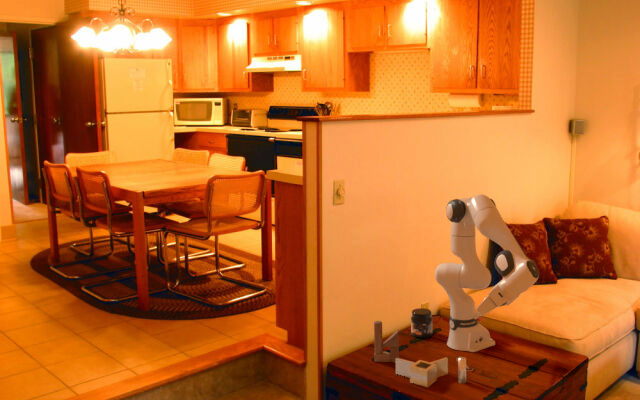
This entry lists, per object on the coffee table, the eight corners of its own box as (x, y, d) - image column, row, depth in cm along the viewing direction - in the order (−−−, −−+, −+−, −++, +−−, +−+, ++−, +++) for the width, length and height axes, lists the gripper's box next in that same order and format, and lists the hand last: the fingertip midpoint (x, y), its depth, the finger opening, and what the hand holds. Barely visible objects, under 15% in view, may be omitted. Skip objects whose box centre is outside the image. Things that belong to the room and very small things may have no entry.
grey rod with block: (398, 362, 275) (397, 323, 273) (374, 362, 277) (373, 323, 274) (398, 359, 279) (398, 320, 276) (374, 358, 281) (373, 320, 278)
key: (451, 359, 279) (461, 373, 264) (451, 357, 279) (461, 371, 264) (464, 357, 279) (475, 371, 264) (464, 355, 279) (474, 369, 264)
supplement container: (406, 334, 308) (406, 311, 307) (421, 329, 315) (421, 306, 313) (421, 340, 300) (421, 316, 298) (437, 335, 306) (437, 311, 304)
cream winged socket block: (448, 373, 263) (448, 357, 262) (429, 388, 250) (429, 371, 249) (411, 363, 274) (410, 348, 273) (391, 377, 262) (391, 361, 260)
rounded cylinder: (463, 379, 257) (463, 356, 256) (467, 382, 254) (467, 359, 253) (456, 380, 256) (456, 357, 254) (461, 383, 253) (461, 360, 251)
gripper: (507, 282, 249) (483, 303, 256) (488, 292, 233) (463, 314, 239) (518, 295, 247) (493, 315, 254) (500, 305, 231) (474, 327, 237)
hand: (479, 315), depth 246 cm, fingers open, 8 cm apart
